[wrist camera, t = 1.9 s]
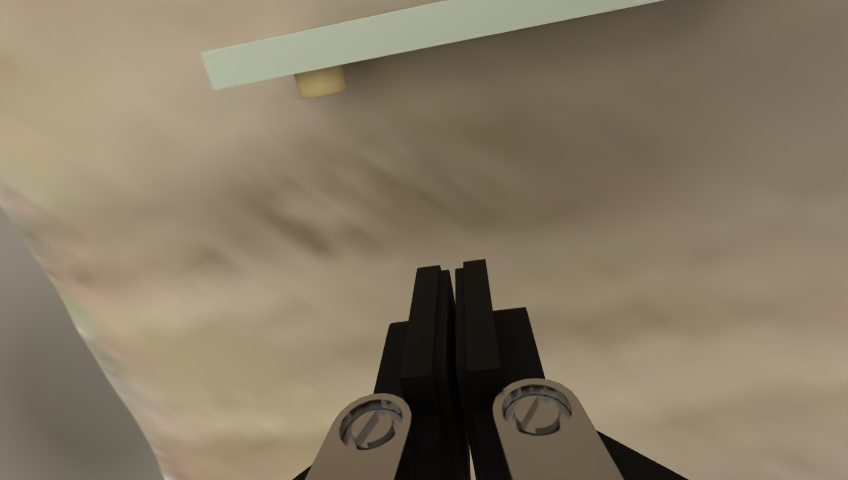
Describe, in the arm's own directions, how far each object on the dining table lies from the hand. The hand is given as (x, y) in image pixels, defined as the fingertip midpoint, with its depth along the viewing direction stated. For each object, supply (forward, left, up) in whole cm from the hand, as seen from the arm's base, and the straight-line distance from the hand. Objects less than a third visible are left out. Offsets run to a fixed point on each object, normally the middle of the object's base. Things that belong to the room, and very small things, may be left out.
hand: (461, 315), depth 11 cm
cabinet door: (-4, -6, -17) cm, 19 cm away
